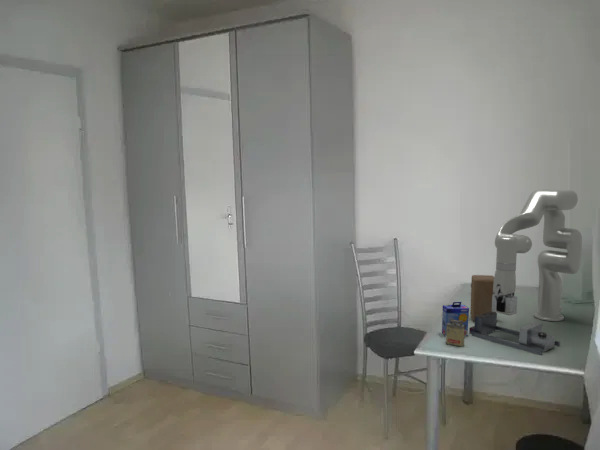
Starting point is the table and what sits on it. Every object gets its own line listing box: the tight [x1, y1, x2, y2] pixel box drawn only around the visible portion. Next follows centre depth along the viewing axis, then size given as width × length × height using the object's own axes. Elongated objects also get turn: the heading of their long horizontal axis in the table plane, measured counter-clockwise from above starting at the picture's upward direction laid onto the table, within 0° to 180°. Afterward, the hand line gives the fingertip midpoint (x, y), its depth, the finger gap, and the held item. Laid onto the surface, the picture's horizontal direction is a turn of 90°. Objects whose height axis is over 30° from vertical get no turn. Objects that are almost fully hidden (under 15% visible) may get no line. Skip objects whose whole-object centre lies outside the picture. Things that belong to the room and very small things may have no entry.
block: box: [469, 274, 497, 322], centre depth 232 cm, size 10×10×20 cm
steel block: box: [492, 293, 518, 316], centre depth 207 cm, size 5×8×7 cm, turn 39°
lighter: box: [445, 319, 465, 347], centre depth 201 cm, size 7×4×10 cm, turn 57°
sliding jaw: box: [518, 321, 556, 352], centre depth 197 cm, size 12×9×8 cm
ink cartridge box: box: [441, 301, 470, 337], centre depth 212 cm, size 10×6×14 cm, turn 95°
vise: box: [468, 311, 561, 356], centre depth 205 cm, size 16×31×8 cm, turn 39°
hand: (504, 309), depth 207 cm, fingers closed on steel block, 5 cm apart
